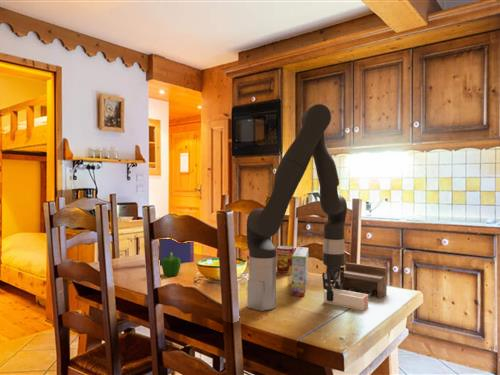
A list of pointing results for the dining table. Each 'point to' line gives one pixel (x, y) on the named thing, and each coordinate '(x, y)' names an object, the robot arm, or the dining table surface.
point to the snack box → (299, 271)
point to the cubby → (365, 279)
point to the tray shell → (348, 299)
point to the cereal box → (176, 250)
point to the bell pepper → (171, 265)
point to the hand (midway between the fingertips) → (333, 298)
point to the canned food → (284, 260)
